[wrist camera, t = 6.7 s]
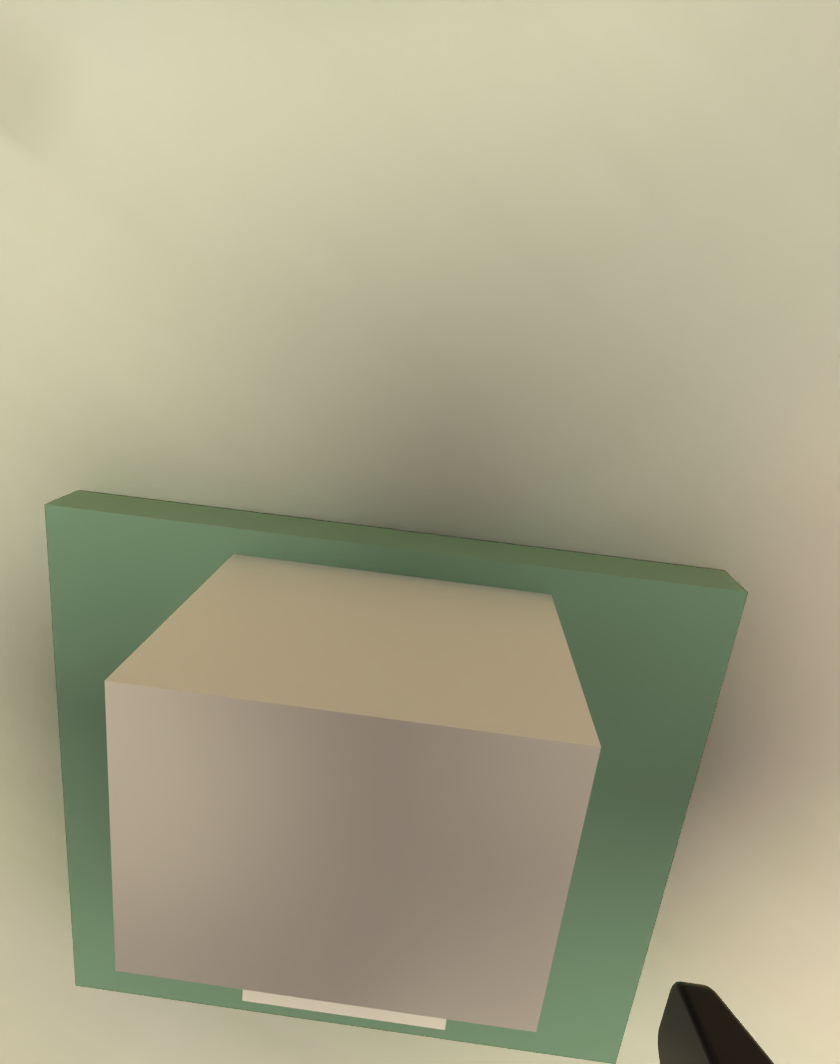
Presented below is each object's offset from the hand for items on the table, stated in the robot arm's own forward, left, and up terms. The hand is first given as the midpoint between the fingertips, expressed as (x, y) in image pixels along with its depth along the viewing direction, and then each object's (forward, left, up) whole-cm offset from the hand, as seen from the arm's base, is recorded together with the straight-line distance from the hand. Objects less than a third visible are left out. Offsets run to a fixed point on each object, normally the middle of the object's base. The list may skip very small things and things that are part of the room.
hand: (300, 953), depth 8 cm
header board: (0, +3, -7) cm, 8 cm away
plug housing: (0, 0, -6) cm, 6 cm away
